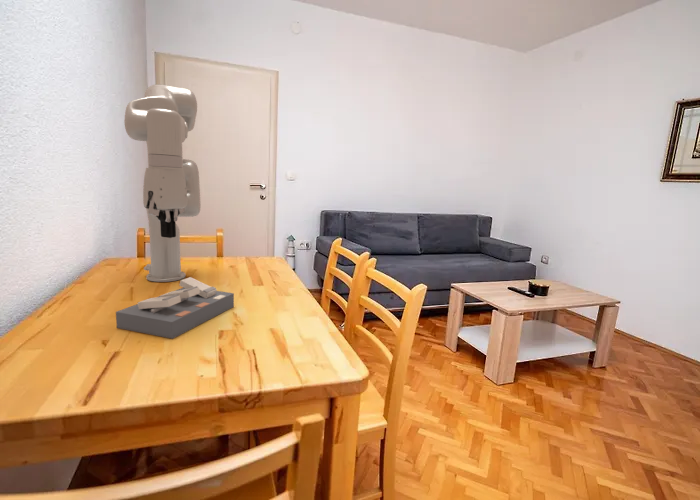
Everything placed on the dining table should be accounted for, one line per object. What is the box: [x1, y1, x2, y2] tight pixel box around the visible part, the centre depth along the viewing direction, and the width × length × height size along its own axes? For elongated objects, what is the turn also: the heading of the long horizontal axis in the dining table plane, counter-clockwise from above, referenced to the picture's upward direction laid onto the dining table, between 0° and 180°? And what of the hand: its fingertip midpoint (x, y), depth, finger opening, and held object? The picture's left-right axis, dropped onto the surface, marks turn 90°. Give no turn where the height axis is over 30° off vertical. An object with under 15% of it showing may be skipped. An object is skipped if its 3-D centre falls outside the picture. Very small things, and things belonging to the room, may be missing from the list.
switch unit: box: [115, 287, 235, 340], centre depth 96 cm, size 16×24×5 cm, turn 164°
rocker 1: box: [137, 294, 181, 309], centre depth 89 cm, size 9×4×2 cm, turn 74°
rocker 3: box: [179, 276, 218, 298], centre depth 102 cm, size 9×4×2 cm, turn 74°
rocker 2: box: [159, 286, 200, 299], centre depth 96 cm, size 9×4×2 cm, turn 74°
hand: (168, 236), depth 93 cm, fingers closed
